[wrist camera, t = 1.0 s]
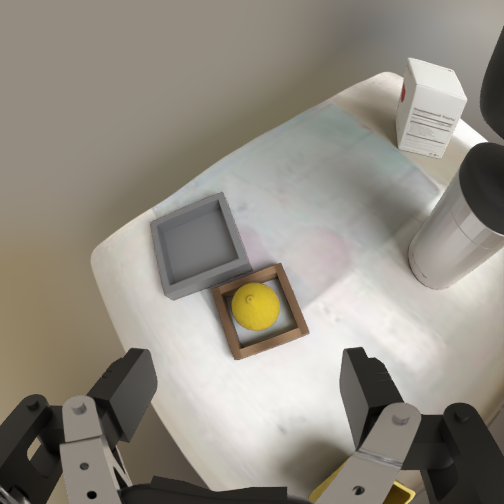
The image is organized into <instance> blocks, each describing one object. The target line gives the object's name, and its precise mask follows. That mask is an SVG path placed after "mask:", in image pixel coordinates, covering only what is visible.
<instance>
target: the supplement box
mask: <svg viewBox="0 0 504 504" xmlns="http://www.w3.org/2000/svg"><path fill="white" fill-rule="evenodd" d="M466 102H467V98H466V96H465V94H464V91H463V89H462V87H461V84H460V82H459V81H458V79H457V77H456V74H455V72H454V71H453V70H451V69H448V68H444V67H441V66H438V65H434V64H431V63H428V62H425V61H421V60H417V59H413V58H408V60H407V65H406V71H405V76H404V81H403V86H402V91H401V95H400V100H399V104H398V109H397V113H396V117H395V123H396V132H397V143H398V149H400V150H404V151H409V152H413V153H418V154H422V155H426V156H430V157H434V158H438V159H441V157H442V155H443V153H444V151H445V149H446V147H447V145H448V143H449V141H450V139H451V136H452V134H453V132H454V130H455V128H456V125H457V123H458V121H459V119H460V116H461V114H462V112H463V109H464V107H465V104H466Z"/></svg>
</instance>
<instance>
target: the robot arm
mask: <svg viewBox="0 0 504 504" xmlns="http://www.w3.org/2000/svg"><path fill="white" fill-rule="evenodd" d="M480 109H481V113H482V116H483V118H484V120H485V121H486V123H487V124H488V125H489V126H490V127H491V128H492V129H493V130H494V131H495V132H496V133H497V134H498V135H499V136H500V137H502V138H503V139H504V26H503V29H502V31H501V34H500V37H499V39H498V42H497V44H496V47H495V49H494V52H493V54H492V57H491V59H490V62H489V64H488V67H487V70H486V73H485V76H484V79H483V83H482V88H481V94H480ZM502 247H504V146H502V145H499V144H495V143H489V142H485V143H479V144H477V145H475V146H474V147H473V148H471V149H470V151H469V152H468V153H467V155H466V157H465V158H464V160H463V162H462V164H461V165H460V167H459V169H458V171H457V172H456V174H455V176H454V177H453V179H452V181H451V182H450V184H449V186H448V187H447V189H446V191H445V192H444V194H443V195H442V197H441V198H440V200H439V201H438V203H437V205H436V206H435V208H434V209H433V211H432V212H431V214H430V215H429V217H428V218H427V219H426V221H425V222H424V224H423V225H422V227H421V228H420V229H419V231H418V232H417V234H416V235H415V237H414V238H413V239H412V241H411V243H410V246H409V251H408V259H409V264H410V267H411V269H412V271H413V273H414V275H415V276H416V278H417V279H418V280H419V281H420V282H421V283H423V284H424V285H425V286H427V287H430V288H432V289H445V288H448V287H449V286H451V285H453V284H454V283H456V282H457V281H458V280H460V279H461V278H463V277H464V276H466V275H467V274H469V273H470V272H471V271H473V270H474V269H475V268H477V267H478V266H479V265H481V264H482V263H483V262H485V261H486V260H487V259H489V258H490V257H491V256H492V255H494V254H495V253H496V252H497V251H499V250H500V249H501V248H502ZM156 390H157V376H156V373H155V369H154V365H153V361H152V358H151V354H150V351H149V350H148V349H138V348H131V349H130V350H129V351H128V352H127V353H126V355H125V356H124V357H123V358H120V359H118V360H116V361H115V362H113V363H112V364H111V365H110V366H109V368H108V369H107V370H106V372H105V373H104V374H103V375H102V378H101V377H100V379H99V380H98V381H97V382H96V384H95V385H94V386H93V387H92V389H91V390H90V391H89V392H88V394H87V395H86V396H83V395H82V396H81V395H80V396H75V397H72V398H70V399H69V400H67V401H66V402H65V404H64V405H63V406H50V405H49V404H48V402H47V400H46V398H45V397H44V396H42V395H39V394H34V395H30V396H27V397H26V398H24V399H23V400H22V401H21V402H20V403H19V405H18V406H17V407H16V408H15V409H14V410H13V411H12V413H11V414H10V415H9V416H8V417H7V418H6V420H5V421H4V422H3V423H2V424H1V426H0V504H46V503H47V501H48V499H49V497H50V495H51V493H52V491H53V489H54V487H55V486H56V484H57V482H58V480H59V478H60V476H61V474H62V473H63V474H64V480H65V485H66V490H67V495H68V499H69V503H70V504H382V503H383V501H384V500H385V498H386V496H387V494H388V493H389V491H390V489H391V487H392V485H393V483H394V481H395V480H396V478H397V476H398V474H399V472H400V470H420V472H421V476H422V479H423V482H424V485H425V489H426V492H427V495H428V499H429V502H430V504H504V456H503V454H502V453H501V451H500V449H499V447H498V445H497V444H496V442H495V440H494V439H493V437H492V435H491V433H490V432H489V430H488V428H487V427H486V425H485V423H484V422H483V420H482V418H481V417H480V415H479V414H478V412H477V411H476V409H475V408H474V407H472V406H471V405H469V404H466V403H454V404H451V405H449V406H448V407H447V408H446V409H445V411H444V413H443V415H423V414H421V413H420V411H419V410H418V409H417V408H416V407H414V406H413V405H411V404H408V403H404V401H403V399H402V397H401V395H400V393H399V391H398V389H397V387H396V386H395V384H394V382H393V380H392V378H391V376H390V374H389V373H388V371H387V369H386V367H385V365H384V364H383V363H382V362H381V361H379V360H378V359H377V358H375V357H374V358H368V357H367V355H366V353H365V351H364V349H363V347H357V348H347V349H344V350H343V356H342V364H341V372H340V393H341V397H342V400H343V404H344V407H345V411H346V414H347V418H348V422H349V425H350V429H351V433H352V437H353V440H354V444H355V448H356V450H355V451H354V452H353V454H352V455H351V456H350V458H349V459H348V461H347V462H346V463H345V465H344V466H343V468H342V469H341V470H340V472H339V473H338V474H337V476H336V477H335V478H334V480H333V481H332V482H331V484H330V485H329V486H328V487H327V489H326V490H325V491H324V492H323V494H322V495H321V496H320V497H319V498H318V500H317V501H316V502H315V503H314V502H312V501H310V500H307V499H304V498H301V497H297V496H292V495H287V487H249V488H243V489H236V490H229V491H220V492H216V491H211V490H208V489H205V488H202V487H199V486H196V485H193V484H190V483H188V482H185V481H180V480H174V479H168V478H162V477H157V476H153V478H152V481H151V483H147V484H139V485H132V483H131V481H130V479H129V476H128V473H127V471H126V468H125V466H124V463H123V460H122V458H121V455H120V452H119V449H118V447H117V446H116V444H117V442H118V441H119V440H120V441H124V442H128V443H129V442H130V440H131V438H132V436H133V435H134V433H135V431H136V429H137V427H138V425H139V423H140V421H141V419H142V417H143V415H144V413H145V411H146V409H147V407H148V405H149V404H150V402H151V400H152V398H153V396H154V394H155V392H156ZM36 437H37V438H38V440H39V441H40V443H41V445H40V447H39V448H38V450H37V451H36V452H35V454H34V456H33V457H32V458H31V460H30V461H29V460H28V458H27V450H28V448H29V447H30V445H31V444H32V442H33V441H34V440H35V438H36Z"/></svg>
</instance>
